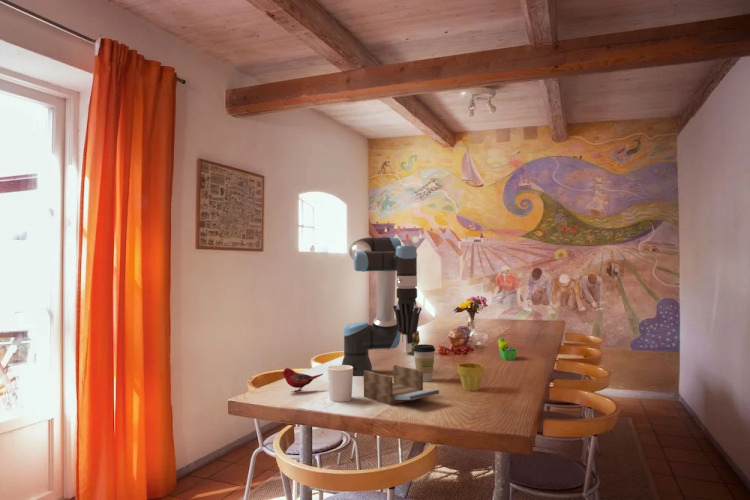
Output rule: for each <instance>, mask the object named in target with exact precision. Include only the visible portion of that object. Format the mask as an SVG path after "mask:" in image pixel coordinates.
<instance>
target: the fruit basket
mask: <svg viewBox="0 0 750 500" xmlns="http://www.w3.org/2000/svg"><path fill="white" fill-rule="evenodd" d="M497 343H498V350H499V354H500V357H501V359H503V360H504V361H515V360H516V357H517V353H518V350H517V349H515V348H514V347H510V345H509V344H510V343H509V342H508V341H507V340H506V339H505V338H504V337H499V338H498V340H497Z"/></svg>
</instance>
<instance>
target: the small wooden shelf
mask: <svg viewBox="0 0 750 500" xmlns="http://www.w3.org/2000/svg"><path fill="white" fill-rule="evenodd" d="M423 390H424V382H423V371H419V370H416V368H410V367H406V366H405V367H404V366H400V365H397V364H395V365H393V376H390V375H387V374H383V373H377V372H374V371H372V372H371V371H367V370H365V371H364V375H363V398H367V399H370V400H373V401H375V402H378V403H383V404H385V405H388V406H394V405H398V404H402V403H405V402H411V401H412V400H394V396H398V395H403V394H407V393H412V392H416V391H423Z"/></svg>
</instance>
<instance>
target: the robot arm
mask: <svg viewBox="0 0 750 500" xmlns="http://www.w3.org/2000/svg"><path fill="white" fill-rule="evenodd" d="M349 256H350V258H351V259H352V260H353V268H354V270H355V271H356V272H363V273H364V272H376V273H377V274H376V276H377V277H376V315H375V318H374V319H372V324H369V322H368V321H359V322H358V321H357V322H353V323H349V324H346V325H345V326H344V327H343V344H344V345H343V359H342V362H341V365H349V366H352V367H353V376H364V371H365V370H367V371H371V372H373V365H372V362H371V360H370V355H369V351H370V350H392V349H396V348H398V346H399V344H400V342H401V334H402V343H403V346H402V347H403V348H402V350H403V352H402V353H404V354H407V353H408V352H412V335H413V334H414V333H416V332H417V331H418V327H419V319H420V314H421V311H422V307H421V306H420V307H419V306H418V305H417V301H416V299H417V298H418V288H417V287H418V273H417V272H418V264H417V263H418V260H417V259H418V253H417V247H416V245H403V244H402V243H401V239H400V238H398V237H391V236H388V237H387V236H385V237H384V236H383V237H363V238H360V239H357V240H356V241H353V243H352V244H351V245H350V247H349ZM396 287H397V288H396ZM396 299H398V301H397V304H396ZM395 304H396V305H395Z"/></svg>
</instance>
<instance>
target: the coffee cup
mask: <svg viewBox="0 0 750 500" xmlns="http://www.w3.org/2000/svg"><path fill="white" fill-rule="evenodd" d="M413 351H414V355H413V357H414V364H415V370H419V371H423V383H428V382H432V381H433V373H434V372H433V371H434V363H435V351H436V348H435V346H434V345H432V344H426V343H423V344H418V345H415V346H414V349H413Z"/></svg>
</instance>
